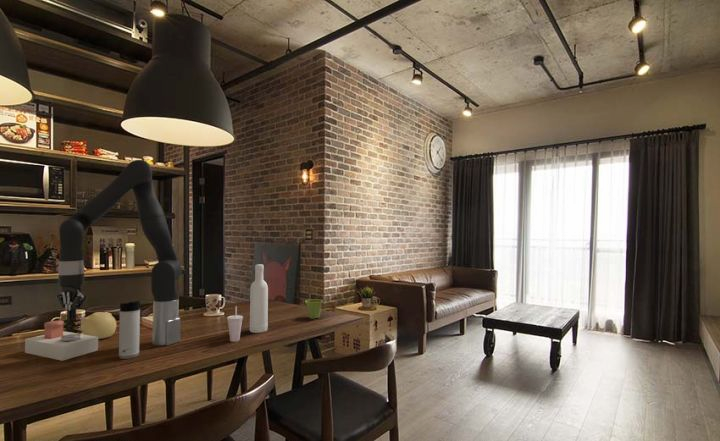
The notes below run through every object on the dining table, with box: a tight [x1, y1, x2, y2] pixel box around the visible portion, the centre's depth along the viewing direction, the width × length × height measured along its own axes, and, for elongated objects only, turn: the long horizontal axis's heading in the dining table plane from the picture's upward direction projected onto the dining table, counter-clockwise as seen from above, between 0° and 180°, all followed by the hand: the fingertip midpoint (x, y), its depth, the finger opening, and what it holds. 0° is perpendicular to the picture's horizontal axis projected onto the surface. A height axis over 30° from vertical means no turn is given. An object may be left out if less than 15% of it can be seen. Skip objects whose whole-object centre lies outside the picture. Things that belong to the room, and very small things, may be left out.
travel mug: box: [118, 300, 141, 360], centre depth 134 cm, size 6×7×20 cm
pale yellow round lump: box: [80, 311, 117, 340], centre depth 156 cm, size 12×12×11 cm
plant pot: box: [304, 298, 324, 320], centre depth 194 cm, size 9×9×9 cm
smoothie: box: [226, 305, 244, 342], centre depth 153 cm, size 6×6×14 cm
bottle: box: [249, 263, 269, 334], centre depth 168 cm, size 8×8×30 cm
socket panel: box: [24, 330, 99, 362], centre depth 138 cm, size 22×12×5 cm, turn 69°
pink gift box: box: [44, 320, 64, 339], centre depth 140 cm, size 6×6×6 cm
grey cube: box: [61, 333, 81, 342], centre depth 136 cm, size 6×6×6 cm
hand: (71, 320), depth 136 cm, fingers closed
